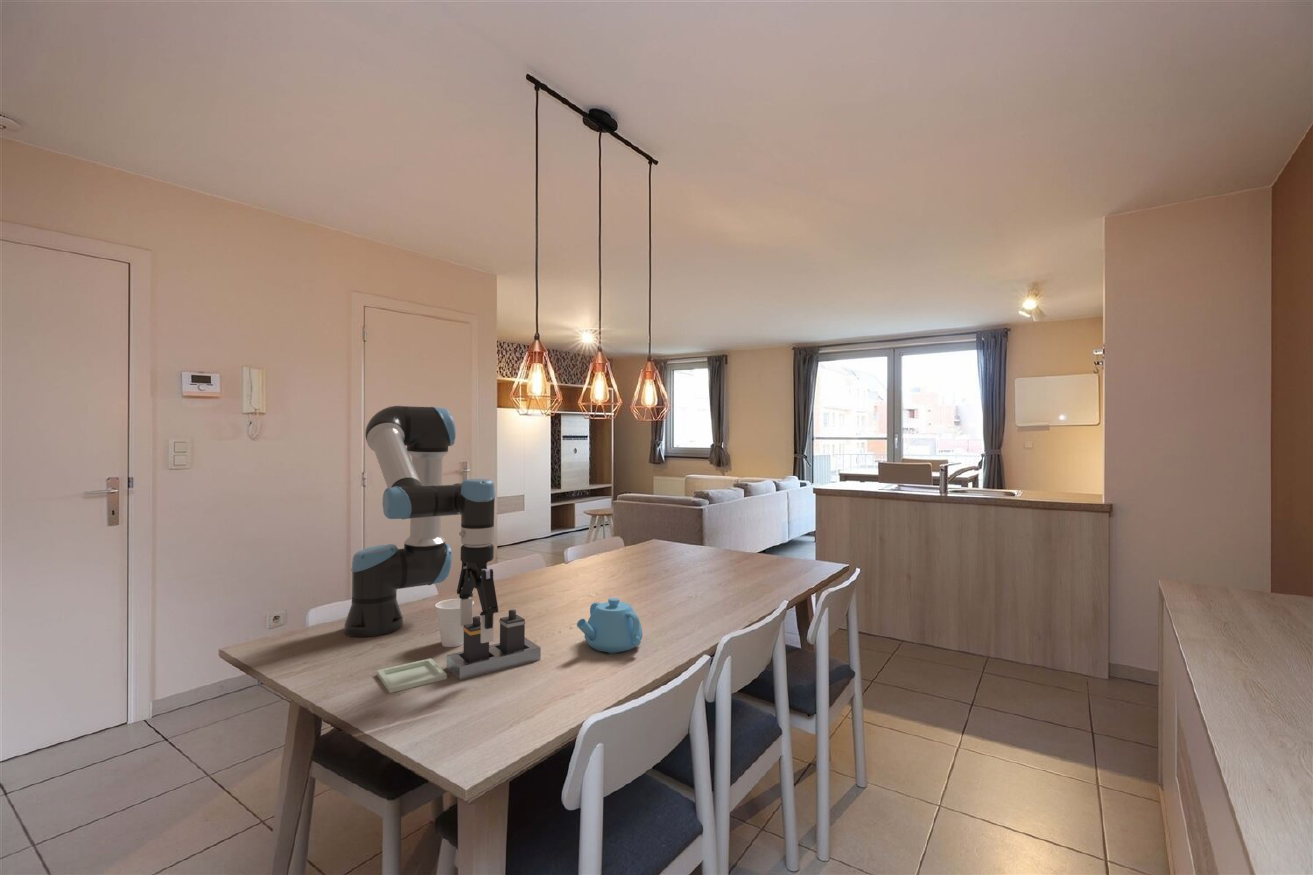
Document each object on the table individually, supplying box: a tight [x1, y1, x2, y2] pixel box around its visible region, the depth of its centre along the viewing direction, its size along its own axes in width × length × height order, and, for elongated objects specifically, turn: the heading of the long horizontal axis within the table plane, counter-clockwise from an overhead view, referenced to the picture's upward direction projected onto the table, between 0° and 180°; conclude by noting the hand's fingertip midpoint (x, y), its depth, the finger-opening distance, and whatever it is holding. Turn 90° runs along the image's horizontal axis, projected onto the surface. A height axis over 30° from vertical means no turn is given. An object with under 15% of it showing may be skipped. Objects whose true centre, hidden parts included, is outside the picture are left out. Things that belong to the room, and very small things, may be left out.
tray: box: [376, 657, 448, 694], centre depth 129 cm, size 12×12×2 cm
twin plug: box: [498, 609, 526, 654], centre depth 139 cm, size 5×5×12 cm
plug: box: [462, 615, 490, 663], centre depth 134 cm, size 5×5×12 cm
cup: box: [434, 598, 475, 648], centre depth 150 cm, size 10×10×11 cm
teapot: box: [576, 597, 643, 655], centre depth 148 cm, size 20×20×13 cm
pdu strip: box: [446, 637, 542, 681], centre depth 137 cm, size 9×20×4 cm, turn 128°
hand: (475, 633), depth 134 cm, fingers open, 13 cm apart
